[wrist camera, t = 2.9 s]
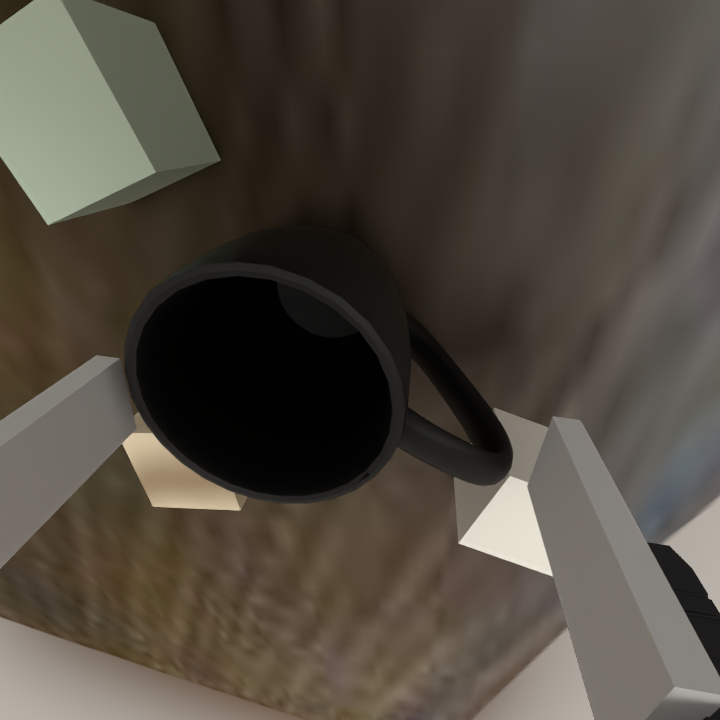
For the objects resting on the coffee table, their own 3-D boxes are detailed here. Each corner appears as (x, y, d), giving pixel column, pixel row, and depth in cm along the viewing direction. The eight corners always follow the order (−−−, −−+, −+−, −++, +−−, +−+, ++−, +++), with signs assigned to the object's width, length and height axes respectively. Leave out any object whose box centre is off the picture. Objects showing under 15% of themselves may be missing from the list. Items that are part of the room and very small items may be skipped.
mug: (436, 413, 23) (440, 578, 14) (229, 323, 22) (108, 445, 13) (524, 283, 18) (601, 411, 10) (274, 163, 17) (139, 199, 9)
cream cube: (494, 406, 22) (509, 475, 18) (580, 438, 22) (616, 514, 18) (453, 469, 25) (458, 543, 20) (531, 497, 25) (552, 576, 20)
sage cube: (61, 82, 17) (-61, 68, 13) (156, 23, 16) (53, -14, 11) (132, 202, 19) (48, 225, 15) (221, 160, 18) (156, 172, 14)
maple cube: (172, 377, 24) (117, 433, 20) (253, 376, 23) (213, 433, 19) (197, 444, 26) (153, 506, 22) (271, 445, 26) (240, 510, 21)
